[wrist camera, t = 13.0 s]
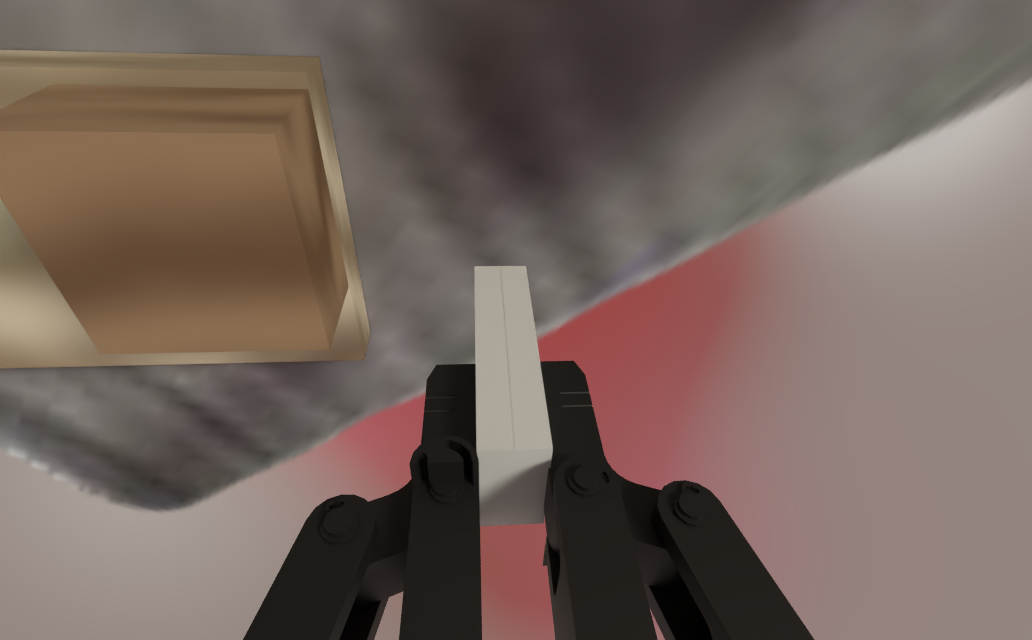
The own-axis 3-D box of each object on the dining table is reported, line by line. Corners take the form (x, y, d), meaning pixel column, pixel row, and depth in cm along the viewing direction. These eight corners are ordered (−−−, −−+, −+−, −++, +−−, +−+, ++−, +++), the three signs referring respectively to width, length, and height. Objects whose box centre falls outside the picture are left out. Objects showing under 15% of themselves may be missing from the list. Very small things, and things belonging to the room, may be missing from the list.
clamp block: (50, 85, 17) (-44, 130, 14) (308, 89, 17) (274, 133, 14) (151, 288, 22) (100, 354, 19) (348, 285, 22) (330, 349, 19)
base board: (-382, 41, 17) (-1025, 161, 10) (319, 56, 19) (223, 168, 11) (-97, 341, 25) (-326, 528, 18) (370, 333, 27) (334, 499, 20)
